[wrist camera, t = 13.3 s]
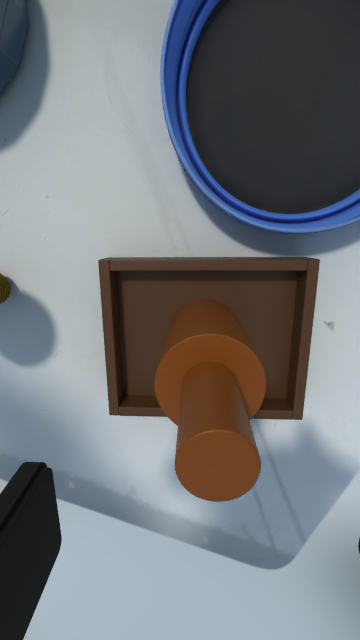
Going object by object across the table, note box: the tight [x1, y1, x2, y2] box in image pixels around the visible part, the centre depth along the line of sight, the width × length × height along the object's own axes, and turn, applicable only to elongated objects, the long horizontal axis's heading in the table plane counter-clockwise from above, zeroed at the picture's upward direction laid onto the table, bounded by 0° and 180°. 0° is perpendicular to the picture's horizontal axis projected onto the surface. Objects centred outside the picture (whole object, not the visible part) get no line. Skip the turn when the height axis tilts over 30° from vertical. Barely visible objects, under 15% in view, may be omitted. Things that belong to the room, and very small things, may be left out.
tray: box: [99, 257, 320, 420], centre depth 24 cm, size 16×13×3 cm
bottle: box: [154, 300, 266, 502], centre depth 18 cm, size 6×6×15 cm
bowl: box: [161, 0, 360, 234], centre depth 19 cm, size 18×18×4 cm
